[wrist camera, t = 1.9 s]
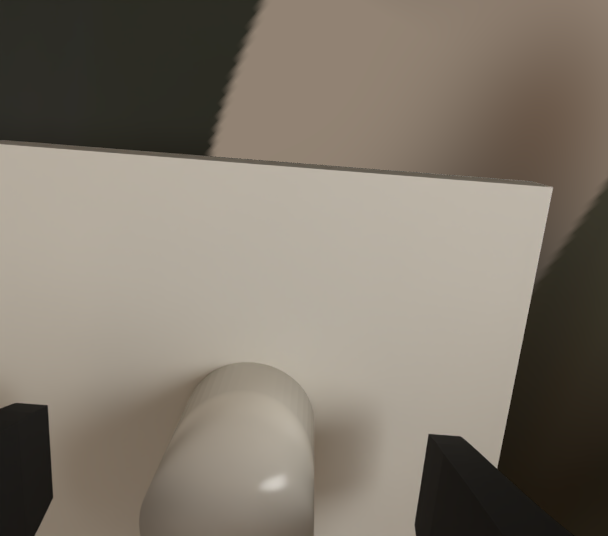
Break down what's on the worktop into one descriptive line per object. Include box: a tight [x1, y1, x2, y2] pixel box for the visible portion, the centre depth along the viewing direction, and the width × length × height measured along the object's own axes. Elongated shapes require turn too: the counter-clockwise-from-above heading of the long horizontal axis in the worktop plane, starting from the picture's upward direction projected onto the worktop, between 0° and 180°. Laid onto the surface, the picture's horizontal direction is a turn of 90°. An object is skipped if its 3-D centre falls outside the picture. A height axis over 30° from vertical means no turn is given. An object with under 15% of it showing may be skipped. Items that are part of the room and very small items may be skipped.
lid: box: [0, 140, 553, 536], centre depth 11 cm, size 11×11×4 cm
